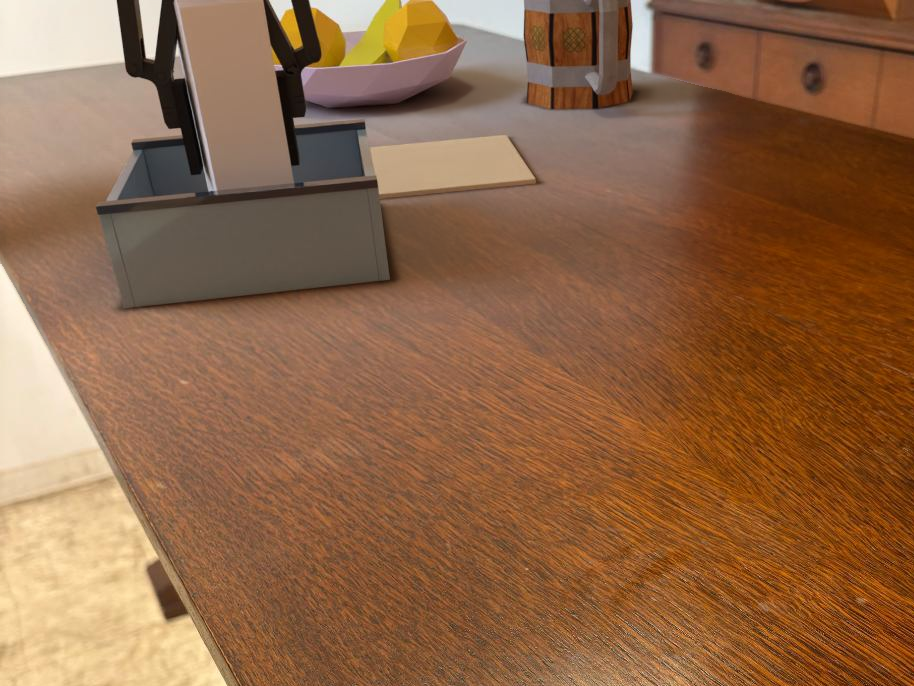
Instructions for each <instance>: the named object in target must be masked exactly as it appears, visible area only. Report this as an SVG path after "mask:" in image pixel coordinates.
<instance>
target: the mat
mask: <svg viewBox="0 0 914 686" xmlns="http://www.w3.org/2000/svg"><path fill="white" fill-rule="evenodd" d="M370 151H371V156H372V161H373V165H374V170H375V175H376V176H377V182H378V190H379V198H380V200H381V199H382V200H383V199H393V198H403V197H404V198H405V197H413V196H423V195H434V194H443V193H453V192H462V191H463V192H464V191H474V190H484V189H494V188H504V187H515V186H516V187H517V186H524V185H525V186H526V185H535V184H537V180H536V177H535V176H534V174H533V173H532V171H531V170H530V168H529V167H528V165H527V163H526V162H525V161H524V159H523V158H522V157H521V155H520V153H519V152H518V151H517V149H516V147H515V146H514V145H513V143H512V142H511V140H510V139H509V137H508V135H507V134H499V135H490V136H478V137H467V138H457V139H455V138H454V139H446V140H445V139H444V140H435V141H423V142H412V143H402V144H392V145H391V144H390V145H382V146H370Z"/></svg>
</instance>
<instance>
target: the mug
mask: <svg viewBox="0 0 914 686" xmlns="http://www.w3.org/2000/svg"><path fill="white" fill-rule="evenodd" d="M523 7H524V8H523V9H524V10H523V42H524V51H525V59H526V72H527V73H526V74H527V75H526V76H527V87H526V104H528V105H529V104H530V105H533V106H537V107H541V108H544V109H549V110H596V109H602V108H605V107H610V106H615V105H621V104H624V103H628V102H629V103H630V101H631V98H632V96H633V93H634V90H633V81H632V72H631V71H632V69H631V64H632V63H631V59H632V57H631V56H632V55H631V52H632V38H633V29H634V28H633V25H634V23H633V12H632V1H631V0H523Z"/></svg>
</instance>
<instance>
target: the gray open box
mask: <svg viewBox="0 0 914 686" xmlns="http://www.w3.org/2000/svg"><path fill="white" fill-rule="evenodd" d="M294 126H295V132H296V138H297V144H298V150H299V156H300V160H299V165H297V166H291V168H292V174H293V180H294V183H291V184H280V185H270V186H259V187H249V188H238V189H228V190H218V191H208V187H207V182H206V178H205V173H204V168H203V169H202V172H201V174H200V175H191V173H190V169H189V164H188V160H187V155H186V151H185V146H184V141H183V137H182V134H180V135H179V134H178V135H170V136H169V135H167V136H158V137H147V138H135V139H132V140H131V143H130V144H131V148H132V151H131V153H130V155H129V157H128V159H127V160H126V162H125V165H124V166H123V168H122V169H121V172H120V173H119V176H118V178H117V180H116V181H115V183H114V185H113V187H112V189H111V190H110V192H109V195H108V197H107V199H106V200H105V201H98V202H97V204H96V206H95V209H96V213H97V215H98V218H99V221H100V224H101V228H102V232H103V236H104V240H105V243H106V246H107V250H108V251H107V252H108V254H109V257H110V258H109V259H110V262H111V264H112V269H113V272H114V276H115V280H116V284H117V288H118V291H119V295H120V298H121V302H122V306H123V308H124V309H131V308H139V307H141V308H142V307H149V306H158V305H159V306H160V305H166V304H167V305H169V304H175V303H176V304H177V303H186V302H187V303H188V302H196V301H204V300H205V301H206V300H214V299H223V298H233V297H242V296H251V295H261V294H270V293H278V292H280V293H281V292H287V291H289V292H290V291H299V290H307V289H317V288H324V287H334V286H344V285H352V284H363V283H372V282H379V281H380V282H381V281H382V282H383V281H389V280H391V276H390V270H389V259H388V253H387V247H386V245H387V244H386V238H385V230H384V221H383V214H382V207H381V201H380V200H381V199H380V198H379V190H378V182H377V176H376V175H375V170H374V165H373V161H372V156H371V151H370V147H371V146H370V141H369V137H368V133H367V126H366V120H365V119H364V118H359V119H350V120H349V119H348V120H338V121H326V122H315V123H306V124H305V123H303V124H294Z"/></svg>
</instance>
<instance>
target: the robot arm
mask: <svg viewBox="0 0 914 686" xmlns="http://www.w3.org/2000/svg"><path fill="white" fill-rule="evenodd" d="M263 2H264V8H265V14H266V20H267V26H268V32H269V37H270V43H271V47H272V48H273V50H274V52H275V54H276V56H277V58H278V60H279V62H280V64H281V66H282V68H283V70H278V71H275V73H276V79H277V85H278V91H279V97H280V103H281V109H282V115H283V120H284V126H285V132H286V138H287V144H288V150H289V156H290V162H291V166H297V165H299V160H300V156H299V150H298V144H297V138H296V132H295V126H294V125H295V120H294V119H299V118H305V117H306V112H307V103H306V100H305V96H304V90H303V84H302V77H301V72H302V70H303V69H304V68H305V67H306V66H308V65H310V64H312V63H316V62H319V60H320V59H321V56H322V55H321V46H320V42H319V38H318V34H317V30H316V26H315V22H314V18H313V14H312V10H311V7H312V6H311V2H310V0H290V2H291V6H292V9H293V10H294V14H295V17H296V21H297V25H298V29H299V33H300V37H301V41H302V44H303V46H301V47H299V48H297V49H295V50H294V48H293V46H292V44H291V42H290V40H289V38H288V36H287V35H286V33H285V31H284V29H283V27H282V25H281V23H280V21H281V20H280V19H279V17H278V16H277V13H276V11H275V10H274V7H273V6H272V4H271V3H272V2H270V0H263ZM116 6H117V14H118V15H117V16H118V22H119V29H120V37H121V44H122V51H123V52H122V53H123V59H124V67H125V71H126V73H127V75H128V76H130V77H131V78H135V79H137V78H140V79H142V80H146V81H149V82H151V83H153V85H154V87H155V88H156V91H157V95H158V100H159V105H160V108H161V113H162V118H163V121H164V124H165V125H166V126H165V127H167V129H168V130H174V129H180V132H181V135H182V137H183V141H184V146H185V151H186V155H187V160H188V164H189V169H190V173H191V175H200V174H201V172H202V169H203V166H204V165H203V161H202V156H201V151H200V147H199V142H198V137H197V133H196V128H195V123H194V118H193V114H192V109H191V104H190V100H189V95H188V90H187V86H186V81H185V78H184V77H183V78H175V77H174V73H175V62H176V54H177V48H178V46H177V17H176V12H175V7H174V0H161V4H160V11H159V12H160V13H159V18H158V19H159V21H158V28H157V36H156V46H155V54H154V59H151V58H148V57H147V54H146V46H145V39H144V30H143V21H142V14H141V7H140V6H141V5H140V0H116Z"/></svg>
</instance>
